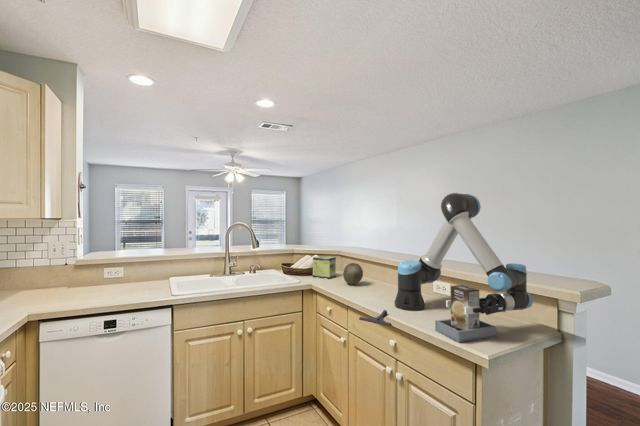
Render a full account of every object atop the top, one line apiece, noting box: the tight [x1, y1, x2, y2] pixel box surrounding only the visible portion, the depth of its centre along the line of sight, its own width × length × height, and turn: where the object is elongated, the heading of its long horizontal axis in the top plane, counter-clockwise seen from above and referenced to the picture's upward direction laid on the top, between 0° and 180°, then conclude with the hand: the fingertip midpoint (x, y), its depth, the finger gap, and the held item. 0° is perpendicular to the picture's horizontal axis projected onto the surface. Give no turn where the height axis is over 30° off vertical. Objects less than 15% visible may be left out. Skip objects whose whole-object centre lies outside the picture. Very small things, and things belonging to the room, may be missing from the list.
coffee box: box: [450, 284, 480, 330], centre depth 121 cm, size 9×6×16 cm
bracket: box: [358, 309, 392, 327], centre depth 139 cm, size 14×15×3 cm
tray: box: [434, 318, 497, 344], centre depth 121 cm, size 13×18×4 cm
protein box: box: [312, 256, 337, 280], centre depth 237 cm, size 10×16×16 cm
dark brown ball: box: [342, 262, 364, 286], centre depth 209 cm, size 14×14×15 cm
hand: (455, 307), depth 119 cm, fingers closed on coffee box, 9 cm apart
